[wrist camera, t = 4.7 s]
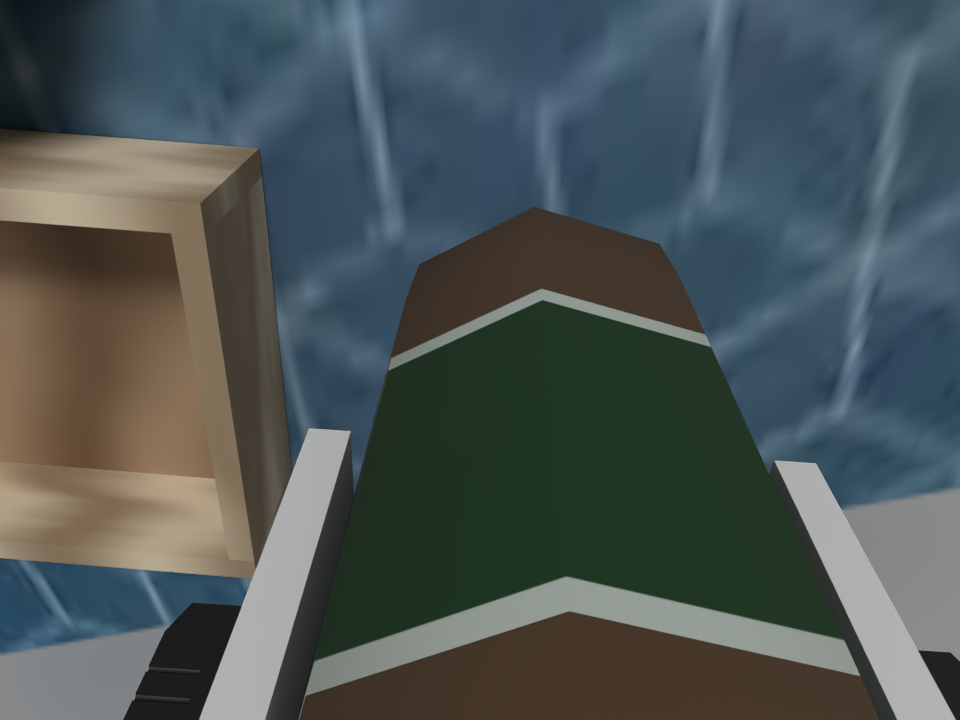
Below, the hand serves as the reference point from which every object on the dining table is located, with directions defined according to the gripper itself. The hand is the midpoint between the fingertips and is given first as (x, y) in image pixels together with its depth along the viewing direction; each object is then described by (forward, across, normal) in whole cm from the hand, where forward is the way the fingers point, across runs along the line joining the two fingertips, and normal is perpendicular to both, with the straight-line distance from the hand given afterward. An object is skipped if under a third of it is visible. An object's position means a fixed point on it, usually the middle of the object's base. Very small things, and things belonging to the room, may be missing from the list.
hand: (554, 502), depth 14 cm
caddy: (+10, -14, -3) cm, 18 cm away
